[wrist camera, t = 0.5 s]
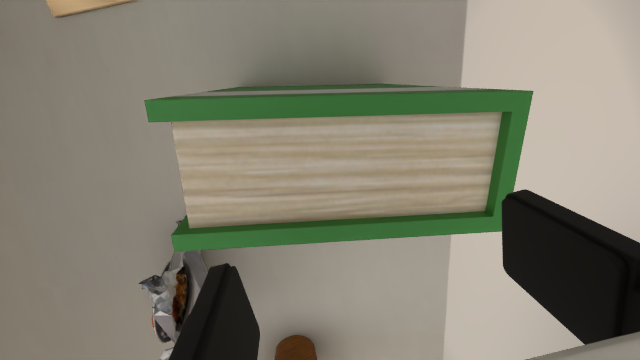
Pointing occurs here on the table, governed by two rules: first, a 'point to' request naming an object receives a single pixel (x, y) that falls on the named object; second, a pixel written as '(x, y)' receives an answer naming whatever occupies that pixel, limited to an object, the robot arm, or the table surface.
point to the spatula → (79, 6)
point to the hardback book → (342, 162)
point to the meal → (175, 294)
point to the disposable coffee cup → (295, 349)
